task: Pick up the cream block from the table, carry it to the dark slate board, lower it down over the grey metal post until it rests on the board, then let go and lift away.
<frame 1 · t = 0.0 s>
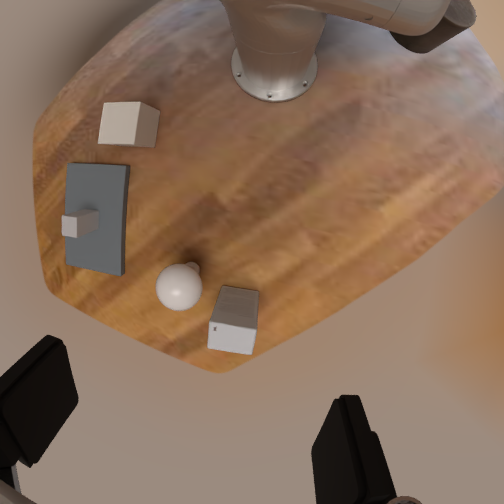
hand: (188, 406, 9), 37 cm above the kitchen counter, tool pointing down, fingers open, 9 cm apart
cream block: (140, 128, 41), on the kitchen counter
lightbulb: (192, 268, 47), on the kitchen counter
skincare box: (239, 299, 48), on the kitchen counter
post board: (96, 217, 45), on the kitchen counter
pillar candle: (411, 30, 34), on the kitchen counter
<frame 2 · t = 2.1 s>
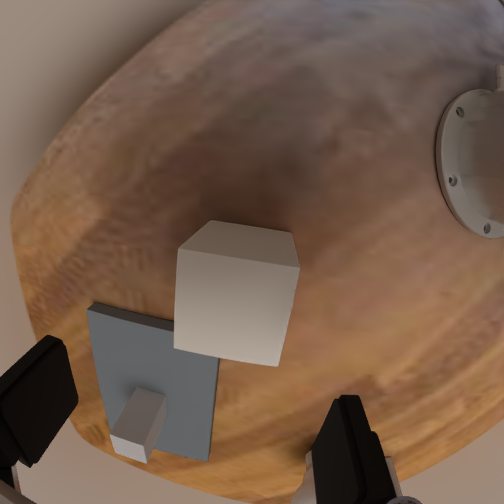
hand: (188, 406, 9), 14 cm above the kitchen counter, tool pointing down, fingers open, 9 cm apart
cream block: (245, 264, 22), on the kitchen counter
lightbulb: (316, 449, 28), on the kitchen counter
skincare box: (365, 465, 29), on the kitchen counter
post board: (156, 392, 26), on the kitchen counter
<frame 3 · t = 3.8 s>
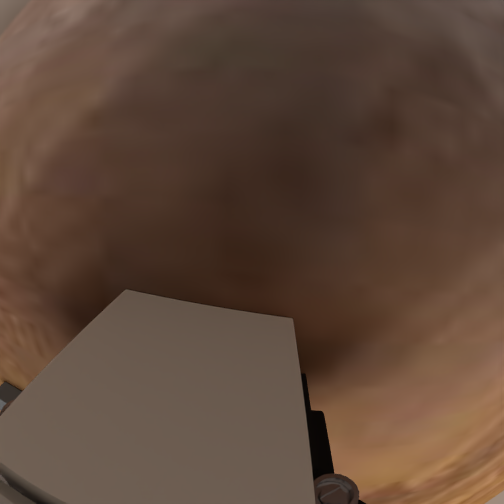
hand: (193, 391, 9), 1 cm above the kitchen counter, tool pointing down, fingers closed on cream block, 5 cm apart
cream block: (200, 371, 10), on the kitchen counter, touching gripper
post board: (105, 487, 15), on the kitchen counter
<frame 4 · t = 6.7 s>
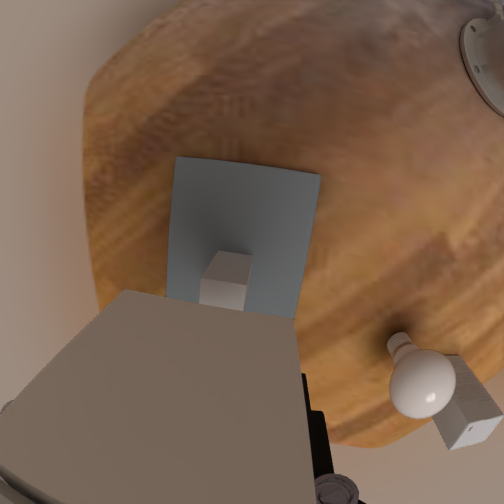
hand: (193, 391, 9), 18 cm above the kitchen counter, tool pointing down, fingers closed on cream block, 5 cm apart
cream block: (200, 371, 10), point 17 cm above the kitchen counter, touching gripper
lightbulb: (395, 338, 29), on the kitchen counter
skincare box: (436, 367, 30), on the kitchen counter
post board: (235, 263, 27), on the kitchen counter
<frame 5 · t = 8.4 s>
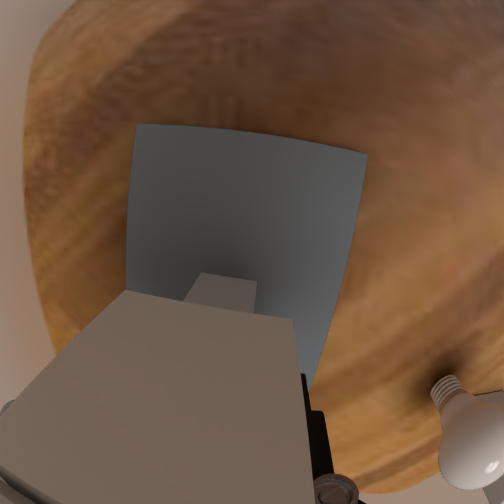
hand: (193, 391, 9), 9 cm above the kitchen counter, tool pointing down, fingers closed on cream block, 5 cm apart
cream block: (199, 372, 10), point 8 cm above the kitchen counter, touching gripper
lightbulb: (439, 381, 19), on the kitchen counter
skincare box: (476, 406, 20), on the kitchen counter
post board: (229, 291, 18), on the kitchen counter
when the fingers open (4 cm above the kitchen counter, at t = 9.8 s): cream block drops 1 cm, resting on post board.
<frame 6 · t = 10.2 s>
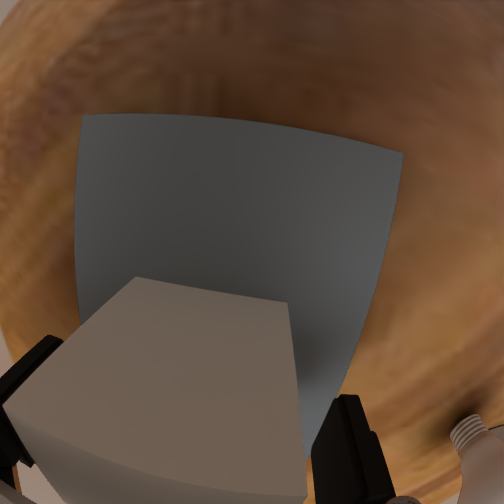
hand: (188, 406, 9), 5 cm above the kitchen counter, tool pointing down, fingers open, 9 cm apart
cream block: (202, 353, 12), point 1 cm above the kitchen counter, touching post board
lightbulb: (460, 420, 15), on the kitchen counter
post board: (211, 336, 13), on the kitchen counter
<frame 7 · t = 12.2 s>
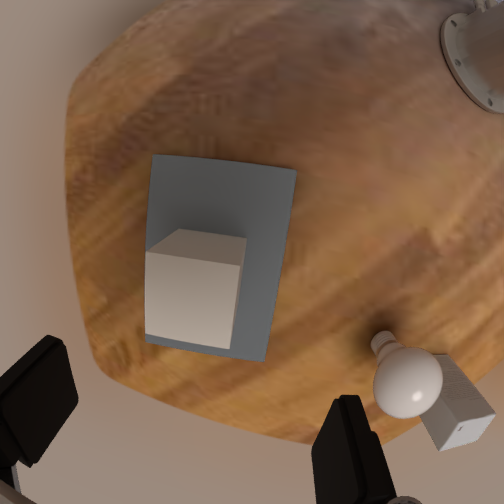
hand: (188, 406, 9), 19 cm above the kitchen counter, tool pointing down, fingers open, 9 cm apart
cream block: (208, 266, 25), point 1 cm above the kitchen counter, touching post board
lightbulb: (379, 337, 29), on the kitchen counter
skincare box: (424, 367, 30), on the kitchen counter
post board: (213, 261, 27), on the kitchen counter
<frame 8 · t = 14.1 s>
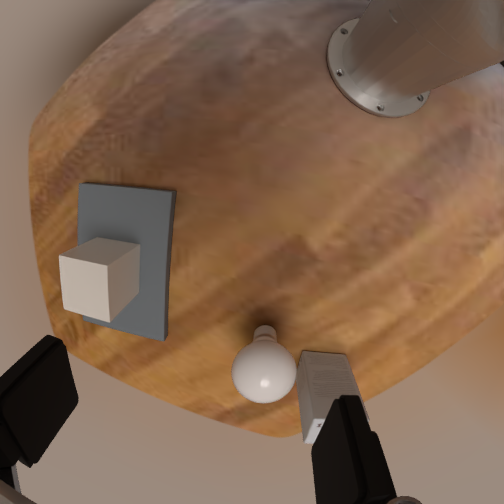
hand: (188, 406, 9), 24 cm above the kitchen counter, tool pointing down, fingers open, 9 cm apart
cream block: (117, 264, 32), point 1 cm above the kitchen counter, touching post board
lightbulb: (265, 331, 35), on the kitchen counter
skincare box: (320, 363, 36), on the kitchen counter
post board: (123, 261, 33), on the kitchen counter
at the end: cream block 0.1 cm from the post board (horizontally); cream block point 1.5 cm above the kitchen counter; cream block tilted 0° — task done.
